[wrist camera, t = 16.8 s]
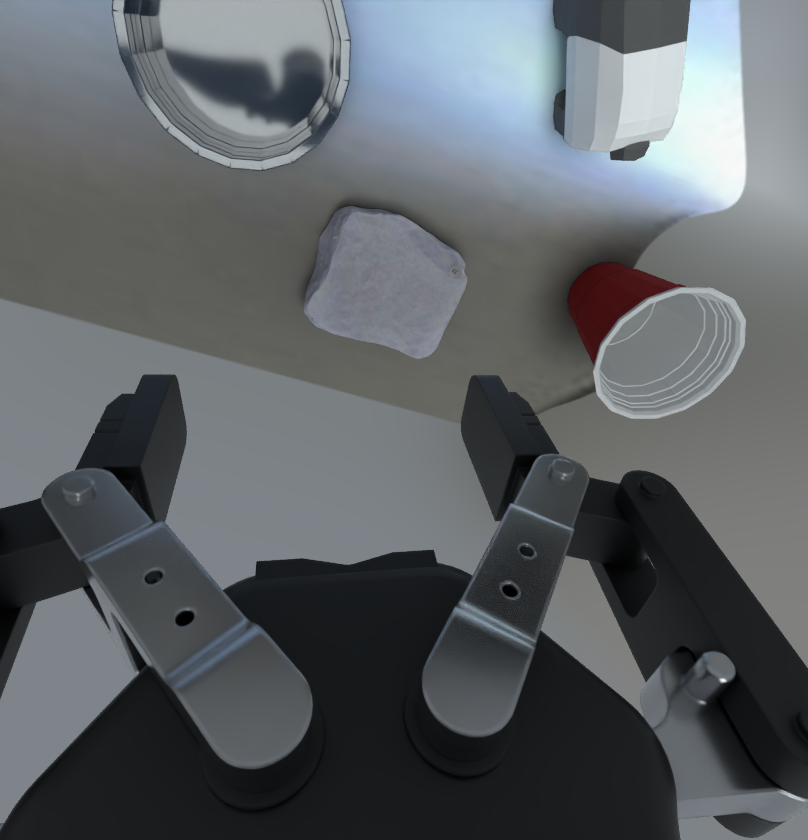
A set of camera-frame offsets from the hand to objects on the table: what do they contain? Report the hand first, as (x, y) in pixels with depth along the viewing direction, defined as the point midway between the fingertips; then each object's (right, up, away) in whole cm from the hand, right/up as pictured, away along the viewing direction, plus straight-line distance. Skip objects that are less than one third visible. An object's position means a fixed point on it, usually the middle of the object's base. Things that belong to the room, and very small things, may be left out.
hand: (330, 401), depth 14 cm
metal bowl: (-8, +22, +17) cm, 29 cm away
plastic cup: (+19, +11, +32) cm, 39 cm away
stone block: (+1, +12, +27) cm, 30 cm away
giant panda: (+14, +25, +20) cm, 35 cm away
